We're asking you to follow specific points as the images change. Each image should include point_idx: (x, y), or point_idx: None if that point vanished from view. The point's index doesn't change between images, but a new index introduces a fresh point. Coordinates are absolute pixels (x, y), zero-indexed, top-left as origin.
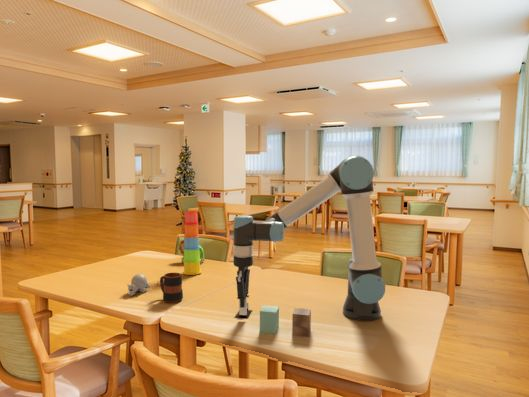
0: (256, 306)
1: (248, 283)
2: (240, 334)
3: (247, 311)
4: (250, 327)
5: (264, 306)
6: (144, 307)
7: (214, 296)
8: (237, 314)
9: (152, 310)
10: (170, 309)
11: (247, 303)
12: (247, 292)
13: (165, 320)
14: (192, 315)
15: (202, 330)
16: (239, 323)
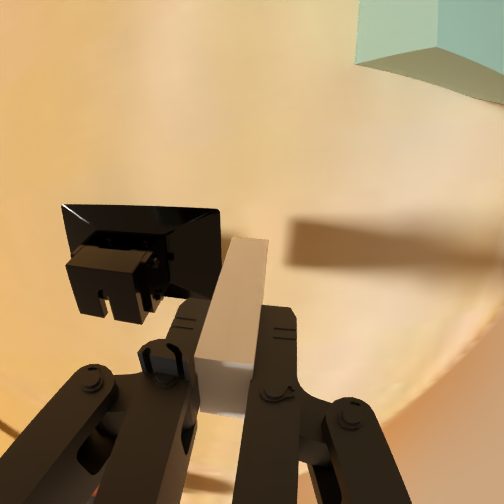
0: (9, 194)
1: (8, 482)
2: (492, 227)
3: (109, 235)
4: (396, 168)
5: (478, 34)
6: (209, 496)
7: (28, 380)
8: (166, 290)
9: (225, 490)
10: (202, 473)
11: (74, 270)
12: (108, 396)
13: (298, 474)
14: (238, 441)
15: (406, 395)
16: (323, 257)
